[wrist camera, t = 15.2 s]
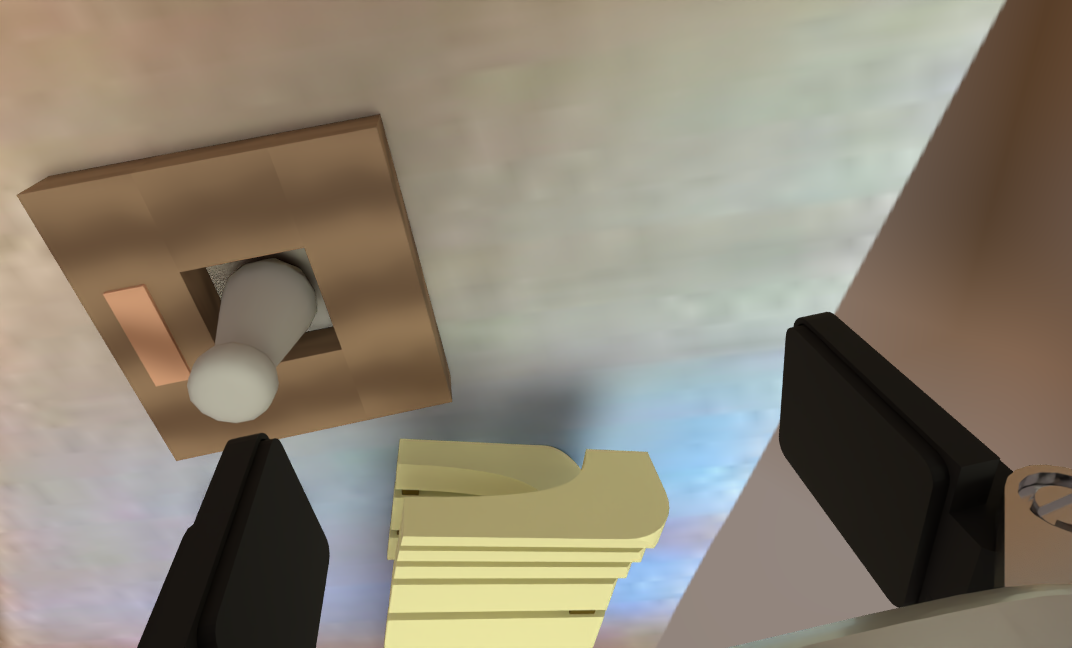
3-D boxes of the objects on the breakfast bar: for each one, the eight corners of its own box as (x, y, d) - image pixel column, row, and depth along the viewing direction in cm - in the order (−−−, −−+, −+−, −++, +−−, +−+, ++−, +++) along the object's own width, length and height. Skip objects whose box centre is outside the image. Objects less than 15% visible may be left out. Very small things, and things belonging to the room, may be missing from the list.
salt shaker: (324, 322, 45) (293, 440, 34) (239, 323, 44) (178, 445, 33) (317, 247, 43) (279, 349, 31) (226, 246, 42) (153, 351, 30)
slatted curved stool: (538, 608, 65) (574, 806, 50) (380, 610, 62) (366, 824, 46) (608, 367, 51) (687, 540, 36) (409, 351, 48) (403, 536, 32)
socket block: (48, 176, 38) (13, 196, 35) (380, 114, 39) (376, 128, 36) (191, 429, 48) (174, 463, 45) (450, 374, 49) (452, 404, 46)
